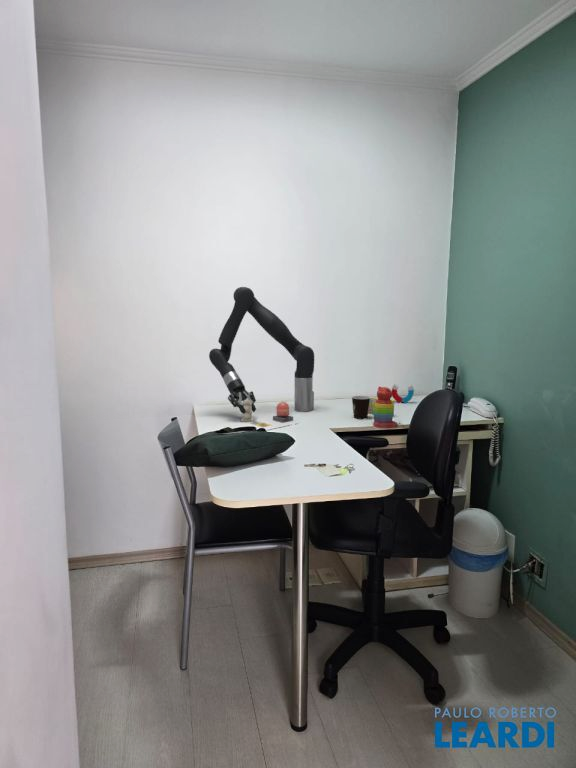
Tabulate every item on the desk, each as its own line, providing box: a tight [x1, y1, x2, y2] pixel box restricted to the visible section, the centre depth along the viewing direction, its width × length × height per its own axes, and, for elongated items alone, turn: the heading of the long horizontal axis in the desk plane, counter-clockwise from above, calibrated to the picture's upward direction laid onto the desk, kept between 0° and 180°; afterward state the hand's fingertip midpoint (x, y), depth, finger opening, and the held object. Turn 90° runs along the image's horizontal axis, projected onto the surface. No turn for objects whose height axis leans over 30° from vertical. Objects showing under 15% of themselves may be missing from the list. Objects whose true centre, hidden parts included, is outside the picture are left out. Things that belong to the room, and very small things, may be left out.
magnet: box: [391, 383, 415, 404], centre depth 306 cm, size 12×3×10 cm, turn 74°
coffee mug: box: [351, 395, 370, 420], centre depth 271 cm, size 12×9×10 cm
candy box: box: [368, 396, 395, 417], centre depth 277 cm, size 16×2×8 cm, turn 54°
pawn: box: [240, 399, 254, 423], centre depth 260 cm, size 6×6×10 cm
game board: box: [238, 414, 299, 432], centre depth 258 cm, size 26×22×3 cm
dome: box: [276, 401, 290, 416], centre depth 260 cm, size 6×6×6 cm
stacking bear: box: [372, 386, 399, 429], centre depth 254 cm, size 11×10×18 cm
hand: (249, 411), depth 258 cm, fingers open, 5 cm apart
